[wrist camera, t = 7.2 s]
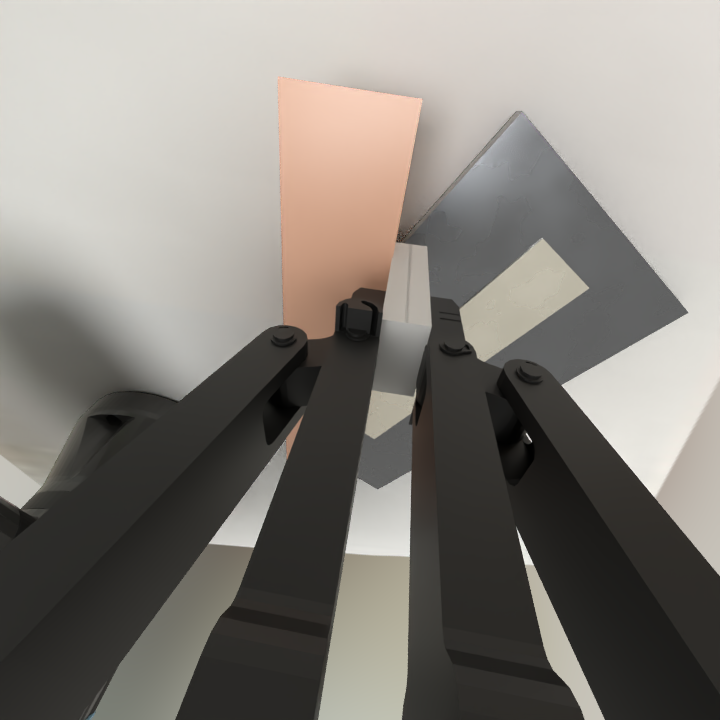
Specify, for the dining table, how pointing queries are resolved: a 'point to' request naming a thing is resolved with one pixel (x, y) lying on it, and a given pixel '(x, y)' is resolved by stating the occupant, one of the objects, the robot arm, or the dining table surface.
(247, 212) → the dining table surface
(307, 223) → the swing bar
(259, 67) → the dining table surface
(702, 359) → the dining table surface
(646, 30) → the dining table surface
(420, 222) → the label plate
